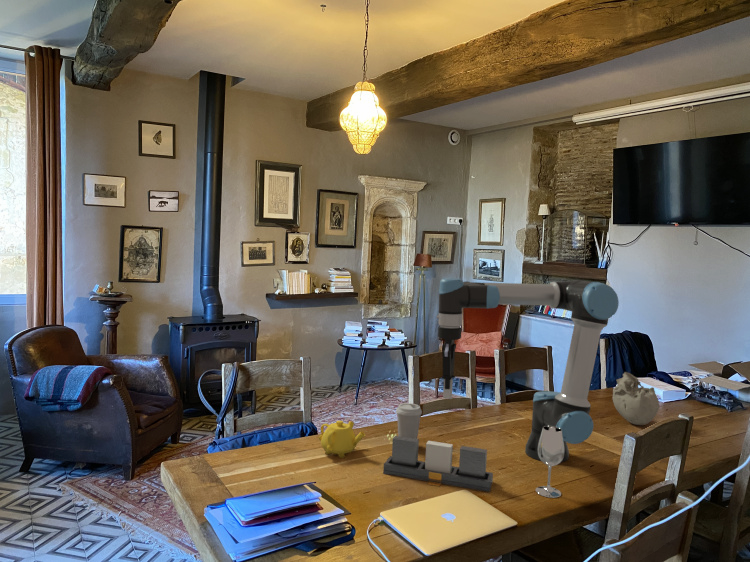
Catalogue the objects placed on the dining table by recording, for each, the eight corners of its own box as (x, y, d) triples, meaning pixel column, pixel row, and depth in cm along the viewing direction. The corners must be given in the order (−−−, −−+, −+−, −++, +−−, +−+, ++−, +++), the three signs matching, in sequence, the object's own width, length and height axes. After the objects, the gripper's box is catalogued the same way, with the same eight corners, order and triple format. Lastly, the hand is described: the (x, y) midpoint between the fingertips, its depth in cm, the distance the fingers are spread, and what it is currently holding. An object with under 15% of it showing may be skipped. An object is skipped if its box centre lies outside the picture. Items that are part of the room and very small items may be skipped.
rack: (492, 481, 177) (494, 447, 176) (488, 495, 167) (490, 459, 167) (390, 464, 187) (391, 432, 187) (381, 476, 178) (382, 442, 177)
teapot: (365, 457, 192) (366, 426, 192) (326, 461, 188) (328, 429, 187) (352, 443, 206) (353, 413, 205) (316, 446, 201) (317, 416, 200)
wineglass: (531, 486, 174) (535, 424, 173) (555, 486, 175) (559, 424, 174) (540, 498, 167) (544, 432, 165) (565, 498, 167) (570, 433, 166)
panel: (451, 474, 178) (452, 444, 178) (449, 478, 176) (451, 447, 175) (426, 470, 181) (428, 440, 180) (424, 474, 178) (426, 443, 178)
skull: (664, 426, 242) (668, 376, 240) (648, 433, 232) (652, 381, 231) (621, 414, 257) (624, 367, 255) (604, 420, 247) (607, 371, 246)
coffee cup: (418, 452, 200) (420, 411, 199) (392, 449, 201) (394, 408, 200) (421, 443, 209) (423, 404, 208) (396, 440, 211) (398, 401, 210)
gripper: (441, 322, 187) (439, 391, 188) (434, 328, 174) (432, 402, 176) (464, 324, 185) (461, 394, 186) (458, 329, 172) (456, 404, 174)
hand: (447, 398), depth 181 cm, fingers closed
